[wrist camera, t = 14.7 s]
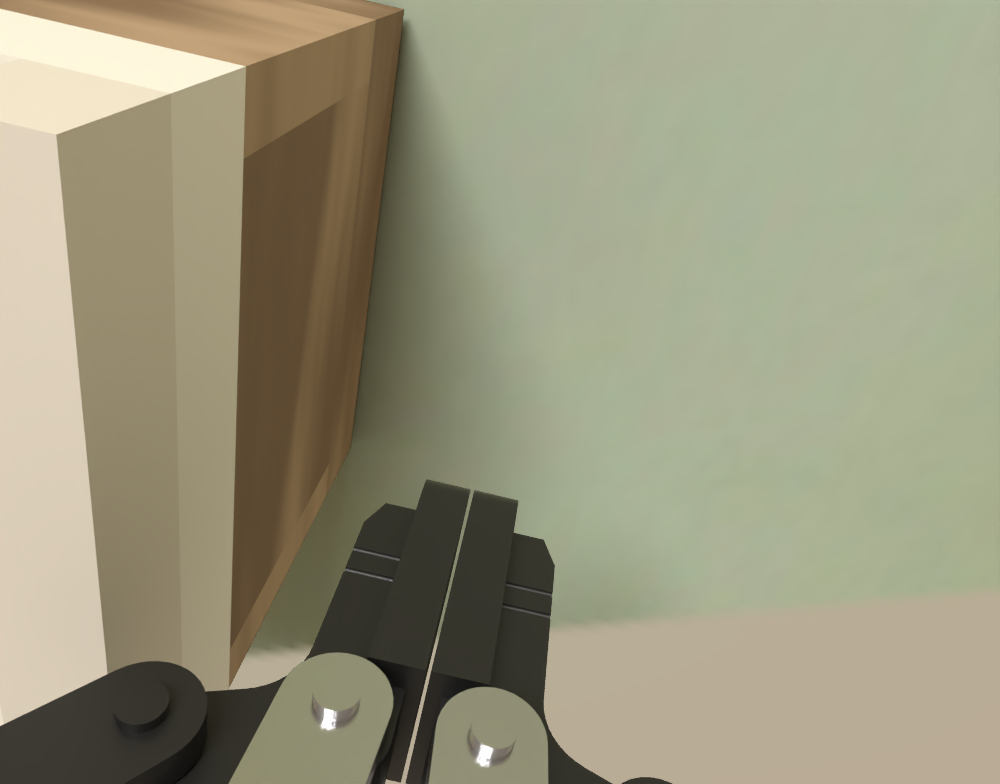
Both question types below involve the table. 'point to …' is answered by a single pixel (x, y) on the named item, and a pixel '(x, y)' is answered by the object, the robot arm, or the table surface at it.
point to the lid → (115, 357)
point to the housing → (286, 243)
